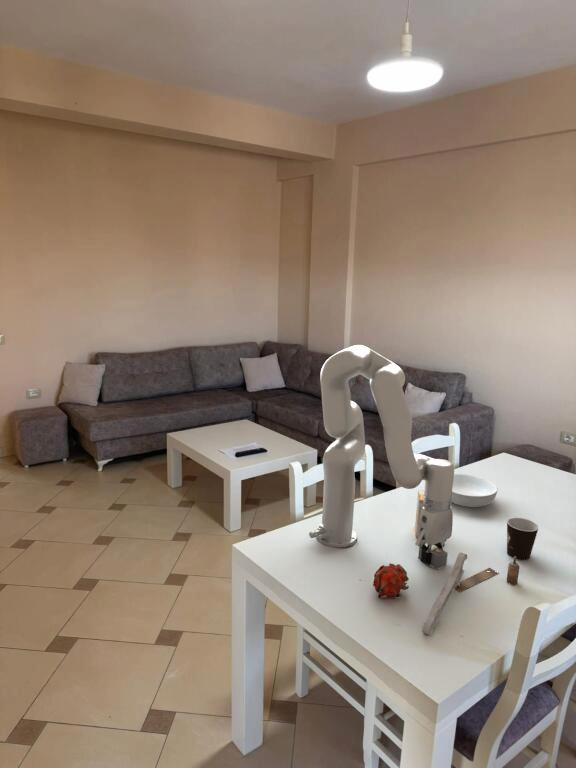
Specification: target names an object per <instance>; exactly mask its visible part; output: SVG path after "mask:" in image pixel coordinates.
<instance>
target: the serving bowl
mask: <svg viewBox="0 0 576 768" xmlns="http://www.w3.org/2000/svg"><path fill="white" fill-rule="evenodd" d="M498 489H499V488H498V487H497V485H496V484H495V483H494V482H492V481H490V480H488V479H486V478H484V477H480V476H476V475H472V474H467V473H466V474H465V473H464V474H463V473H454V480H453V489H452V498H451V504H452V503H453V504H455V505H458V506H461V507H468V508H469V507H470V508H477V507H478V508H479V507H484V506H487V505H488V504H491V503H492V502H493V501H494V499H496V496H497V494H498Z"/></svg>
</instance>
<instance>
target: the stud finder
mask: <svg viewBox="0 0 576 768" xmlns="http://www.w3.org/2000/svg"><path fill="white" fill-rule="evenodd" d="M425 545H426V546H428V544H427V543H426V544H425ZM430 552H431V553H432V556H431V564H430V565H429V566H430V567H432V568H434V569H436V570H440V569H441V568H443V567H445V566H447V563H448V553H449V552H447V551H445V550H444V549H443V550H442V549H440V548H438V547H437V546H435V545H432V547H431V551H430ZM421 553H422V549H420V547H419V546H418V556H417V558H418V560H420V561H421Z"/></svg>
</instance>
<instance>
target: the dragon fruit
mask: <svg viewBox="0 0 576 768" xmlns="http://www.w3.org/2000/svg"><path fill="white" fill-rule="evenodd" d="M408 581H409V577H408V572H407V570H405V568H404V567H403V566H402V565H401V564H399V563H398V564H396V565H395V564H393V563H391V562H390V563H388V565H385V564H383V565H380V566H379V568H378V569H377V570H376V572H375V573H374V575H373V582H372V583H373V585H372V586H373V587H374V590H375V591H376V593H378V598H381V599H386V600H387V599H389V598H390V596H392V595H393V596H394V598H400V597H401V596H403V594H402V593H401V590H403V591H406V590H407V591H408V590H409V585H407V584H408V583H407V582H408Z"/></svg>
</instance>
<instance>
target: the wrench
mask: <svg viewBox="0 0 576 768" xmlns="http://www.w3.org/2000/svg"><path fill="white" fill-rule="evenodd" d="M467 560H468V554H467V553H463V552H461V551H460V552H459V553H457V556H456V559H455V561H454V563H453V568H452V570H451V572H450V575H449V576H448V579H447V581H446V582H445V584H444V586H443V588H442V589H441V591H440V593H439V595H438V597H437V599H436V600H435V602H434V604H433V606H432V607H431V608H430V611H429V613H428V614H427V616H426V618H425V620H424V622H423V625H422V629H421V632H422V633H423V634H425V635H428V636H431V635H432V632H433V630H434V629H435V626H436V625H437V623H438V621H439V619H440V617H441V615H442V613H443V611H444V609H445V608H446V606H447V603H448V601H450V598H451V596H452V594H453V593H454V590H455V588H456V587H457V586H458V587H460V581H462V579H463V576H464V571H465V569H464V565H465V561H467Z"/></svg>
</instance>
